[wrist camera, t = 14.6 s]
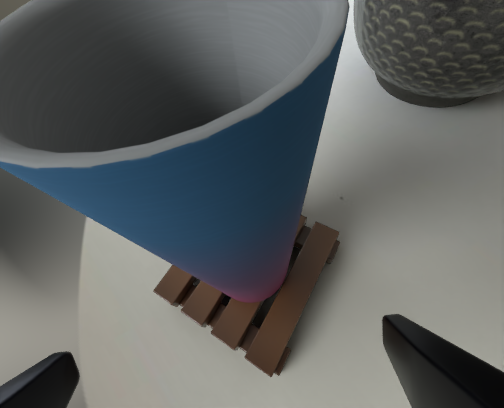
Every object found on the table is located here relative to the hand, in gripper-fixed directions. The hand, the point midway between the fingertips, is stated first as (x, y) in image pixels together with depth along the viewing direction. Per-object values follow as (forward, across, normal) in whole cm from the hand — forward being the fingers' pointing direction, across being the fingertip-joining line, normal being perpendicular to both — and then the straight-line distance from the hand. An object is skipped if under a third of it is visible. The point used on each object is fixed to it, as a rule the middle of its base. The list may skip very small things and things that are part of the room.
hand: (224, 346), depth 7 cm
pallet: (+12, 0, +4) cm, 12 cm away
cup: (+10, 0, +3) cm, 10 cm away
